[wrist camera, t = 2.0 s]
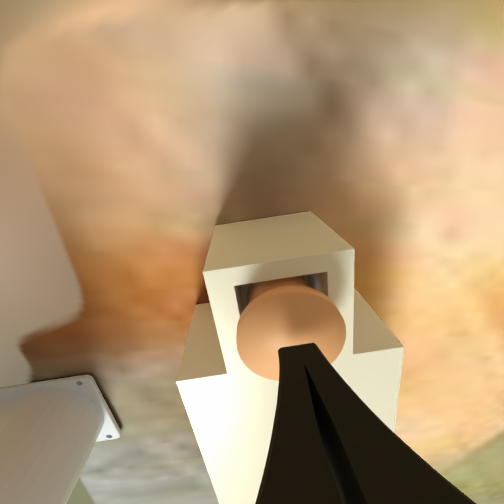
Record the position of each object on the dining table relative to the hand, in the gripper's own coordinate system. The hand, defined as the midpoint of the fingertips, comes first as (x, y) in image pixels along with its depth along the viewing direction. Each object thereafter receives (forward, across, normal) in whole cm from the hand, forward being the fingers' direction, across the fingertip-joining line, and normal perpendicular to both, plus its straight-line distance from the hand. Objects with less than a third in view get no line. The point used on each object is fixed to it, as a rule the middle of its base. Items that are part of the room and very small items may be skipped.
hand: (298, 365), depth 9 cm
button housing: (+10, 0, +7) cm, 12 cm away
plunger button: (+5, 0, 0) cm, 5 cm away
